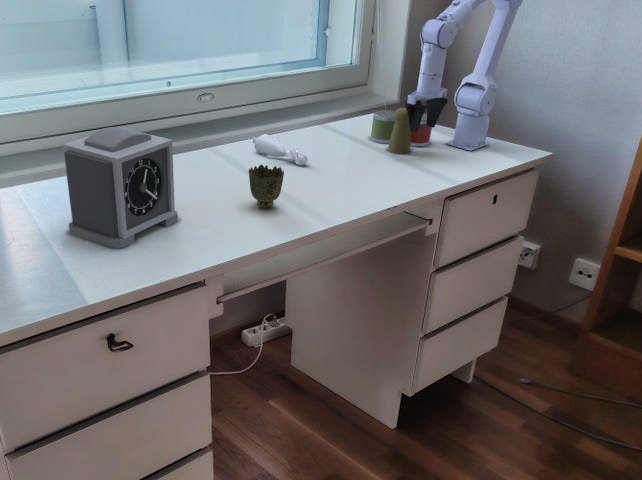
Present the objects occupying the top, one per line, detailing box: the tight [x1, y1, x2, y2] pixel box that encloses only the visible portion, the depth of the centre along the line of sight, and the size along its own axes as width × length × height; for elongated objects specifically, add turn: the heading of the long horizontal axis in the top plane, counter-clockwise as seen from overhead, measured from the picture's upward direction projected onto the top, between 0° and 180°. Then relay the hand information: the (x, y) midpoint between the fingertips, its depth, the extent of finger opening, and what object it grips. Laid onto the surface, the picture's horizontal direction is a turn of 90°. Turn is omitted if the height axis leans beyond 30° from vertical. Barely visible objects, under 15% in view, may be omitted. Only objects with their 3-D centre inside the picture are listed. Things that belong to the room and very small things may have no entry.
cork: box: [387, 107, 411, 155], centre depth 183 cm, size 6×6×11 cm
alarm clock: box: [62, 126, 179, 250], centre depth 130 cm, size 18×13×18 cm
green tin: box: [370, 109, 395, 144], centre depth 192 cm, size 8×8×7 cm
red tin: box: [410, 113, 433, 148], centre depth 191 cm, size 8×8×7 cm
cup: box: [248, 164, 285, 210], centre depth 145 cm, size 8×7×8 cm
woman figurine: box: [252, 133, 309, 166], centre depth 175 cm, size 12×4×18 cm
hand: (422, 128), depth 178 cm, fingers open, 7 cm apart
